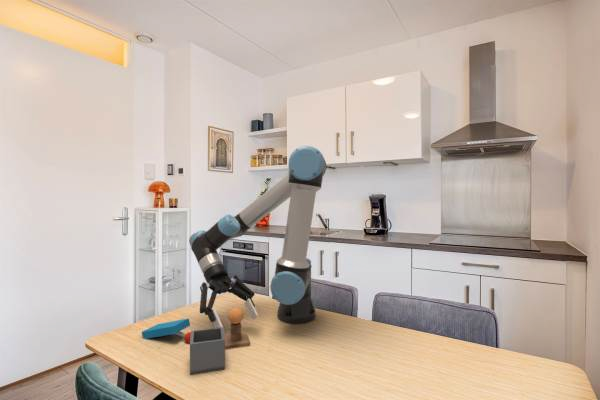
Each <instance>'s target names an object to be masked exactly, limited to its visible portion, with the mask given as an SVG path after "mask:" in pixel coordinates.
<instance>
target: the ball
mask: <svg viewBox="0 0 600 400" xmlns="http://www.w3.org/2000/svg"><path fill="white" fill-rule="evenodd" d="M244 316H245V314H244V311H243V310H242V308H240V307H233V308H231V309H230V310H229V312H228V315H227V319H228V320H229V322H230V324H231V323H233V324H238V323H240V322H242V321H243V320H244V318H245V317H244Z"/></svg>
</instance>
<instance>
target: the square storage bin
mask: <svg viewBox="0 0 600 400" xmlns="http://www.w3.org/2000/svg"><path fill="white" fill-rule="evenodd" d="M190 332H191V338H190V343H189V376H191V375H198V374H204V373H210V372H216V371H222V370H225V369H226V349H225V337H224V335H225V332H224V326H223V327H218V328H215V327H211V328H210V327H209V328H203V329H194V330H190Z"/></svg>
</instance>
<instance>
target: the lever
mask: <svg viewBox="0 0 600 400" xmlns="http://www.w3.org/2000/svg"><path fill="white" fill-rule="evenodd" d="M190 326H191V323H190V319H189V318H184V319H178V320H174V321H173V320H172V321H167V322H163V323H156V325H153V326H150V327H148V328H147V329H145V330H143V331H141V335H142V339H145V340H146V339H153V338H157V337H164V336H168V335H169V336H170V335H177V336H179V337H182V338H183V339H184V341H185V343H187V344H190V338H191V331H189V332H187V333H186V332H183V330H185V329H187V328H189V327H190Z"/></svg>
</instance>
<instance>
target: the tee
mask: <svg viewBox="0 0 600 400" xmlns="http://www.w3.org/2000/svg"><path fill="white" fill-rule="evenodd" d="M241 322H242V321H241ZM241 322H240V323H238V324H233V323H231V322H230V333H228V334H224V337H225V350H229V349H235V348H236V349H237V348H245V347H249V346H251V342H250V338H249V335H248V331H246V332H245V331H244V332H242V323H241Z"/></svg>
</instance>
